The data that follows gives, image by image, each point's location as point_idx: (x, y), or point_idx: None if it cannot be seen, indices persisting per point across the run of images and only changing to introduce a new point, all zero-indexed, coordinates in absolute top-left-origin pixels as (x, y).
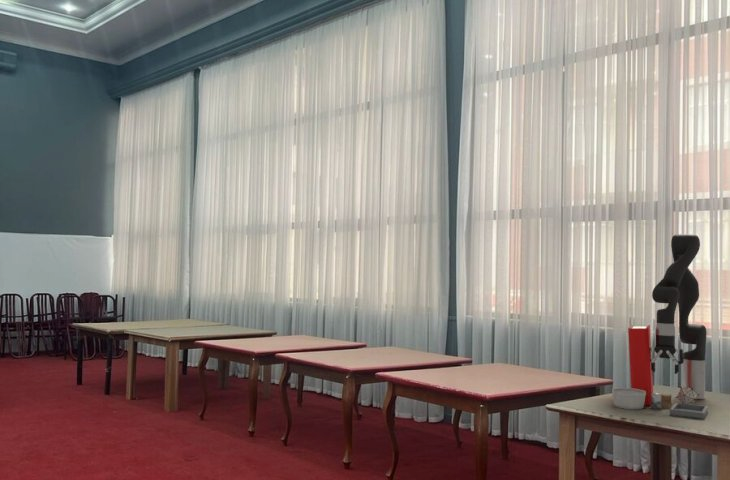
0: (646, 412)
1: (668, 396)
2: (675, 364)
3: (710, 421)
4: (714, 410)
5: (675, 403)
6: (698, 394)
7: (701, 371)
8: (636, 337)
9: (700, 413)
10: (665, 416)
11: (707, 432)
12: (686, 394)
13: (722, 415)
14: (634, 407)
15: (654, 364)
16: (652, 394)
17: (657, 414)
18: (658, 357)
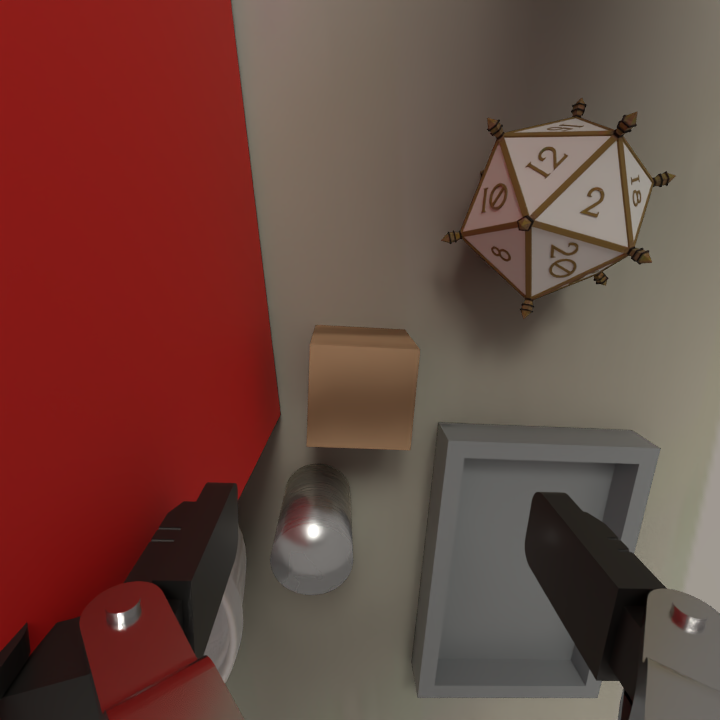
0: (284, 647)
1: (400, 446)
2: (617, 673)
3: (605, 681)
4: (687, 317)
5: (445, 479)
6: (663, 183)
7: None
8: None
9: (578, 694)
10: (390, 691)
11: None
12: (551, 289)
13: (703, 475)
14: None
15: (201, 656)
16: (287, 586)
17: (347, 665)
18: (223, 691)
